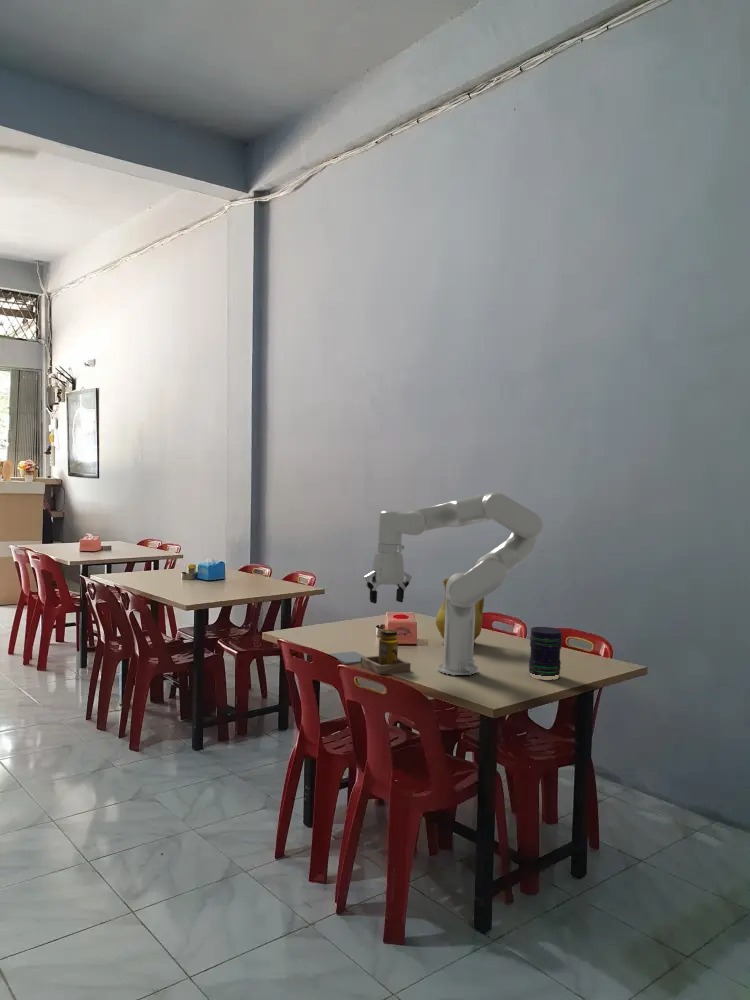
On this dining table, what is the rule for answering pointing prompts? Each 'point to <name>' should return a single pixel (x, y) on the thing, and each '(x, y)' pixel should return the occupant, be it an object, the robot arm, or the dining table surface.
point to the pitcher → (478, 616)
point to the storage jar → (545, 651)
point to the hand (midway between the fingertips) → (386, 602)
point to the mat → (348, 657)
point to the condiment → (388, 647)
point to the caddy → (384, 669)
